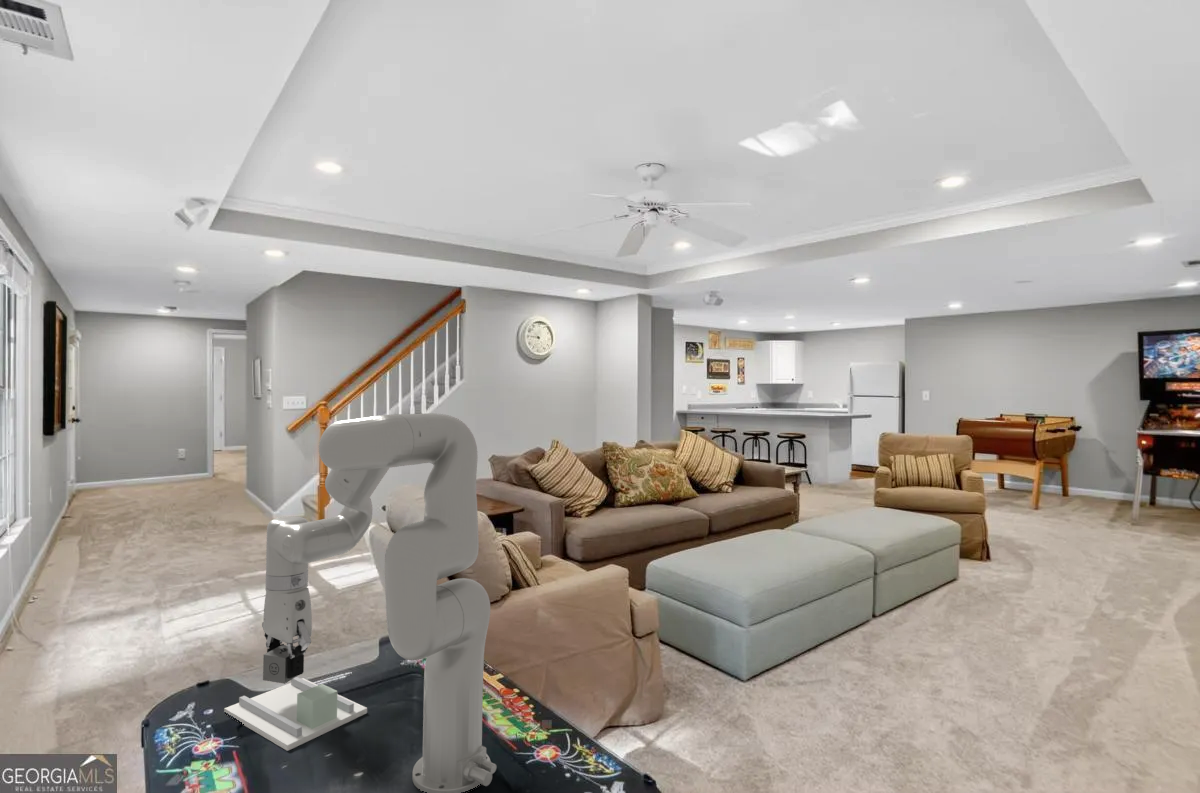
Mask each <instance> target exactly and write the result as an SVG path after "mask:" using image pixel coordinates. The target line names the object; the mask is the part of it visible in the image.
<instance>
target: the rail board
mask: <svg viewBox="0 0 1200 793" xmlns="http://www.w3.org/2000/svg"><path fill="white" fill-rule="evenodd" d="M238 701H239V702H237V703H235V704H232V705H229V706H228V707H224V709H223V710H224V711H223V713H224V712H226V713H228V714H229V715H231V716H233V717H234V718H236V719H237V720H239V721H240V722H242V725H243V724H244V725H243V726H244V727H246V728H247V729H250V730H251V731H253V732H255V733H256V734H258V735H260V736H261V737H263V738H265V739H266V740H268V741H270V742H272V743H273V744H275V745H276V746H278V747H280V748H281V749H283V750H285V751H287V752H288V751H290V750H292V749H295V748H297V747H298V746H301V745H303V744H305V743H308V742H309V741H311V740H314V739H315V738H317V737H320V736H321V735H324V734H326V733H329V732H330V731H332V730H334V729H337V728H339V727H340V726H343V725H345V724H348V723H349V722H351V721H353V720H356V719H358V718H360V717H362V716H364V715H366V714H367V713H368V707H366V706H365V705H362V704H360V703H357V702H355V701H354V700H351V699H348V698H347V697H345V696H342V695H341V694H338V690H336V689H334V688H332V687H330V686H327V685H325V684H323V683H321V684H316V683H314V682H312V681H310V680H308V679H306V678H304V677H302V678H300V677H298V676H297V677H295V678H293V679H292V680H290V682H289V683H285V684H284V685H282V686H279V687H277V688H274V689H271V690H268V691H266V692H263V693H261V694H258V695H255V696H253V697H250V698H249V697H248V696H246V695H242V696H239V697H238Z"/></svg>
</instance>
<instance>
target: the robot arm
mask: <svg viewBox="0 0 1200 793" xmlns="http://www.w3.org/2000/svg"><path fill="white" fill-rule="evenodd" d="M319 439H320V440H319V442H318V454H319V457H320V460H321V462H322V463H323V465H325V466H326V467H327V468H328V469H331V470H330V471H329V473H328V474H327V476H326V478H325V480H324V481H325V482H324V487H325V490H326V492H327V494H328V495H329V496H330V497H331V498H332V499H333V500H334V501H335V502H337V503H338V504H340V505H342V506H343V508H342V509H341V511H340V512H339V514H338V515H336V516H334V517H328V518H323V519H317V520H312V521H309V520H308V519H307V518H305V517H302V516H294V515H293V516H292V515H291V516H282V517H276V518H274V519H271V520H270V521H269V522H268V523H267V527H266V545H265V546H266V550H265V551H266V552H265V553H266V554H265V555H266V556H265V557H266V558H265V560H266V561H265V590H264V591H265V596H264V597H265V598H264V604H263V605H264V607H263V622H262V624H261V628H262V629H263V632H264V637H265V639H266V641H265V648H267V649H266V653H268V652H269V651H271V650H273V649H275V648H277V647H279V646H281V645H285V644H284V643H286V645H287V648H288V653H289V657H288V658H287V670H286V677H287V678H288V679H290V678H293V677H295V676H297V677H298V676H300V675H303V674H304V672H305V671H304V670H305V669H304V668H305V665H304V664H305V654H306V652H307V649H308V647H309V646H310V645H311V643H312V639H311V638H312V637H311V636H312V632H313V622H312V620H313V619H312V618H313V617H312V616H313V614H312V603H311V602H312V601H311V594H310V590H309V587H308V586H309V563H313V562H317V561H320V560H324V559H327V558H331V557H335V556H339V555H344V554H345V553H348V552H350V551H351V550H352V549H354V548H355V547H356V546H357V545H358V543H359V542H360V541H361V539H362V538H363V537H364V535H365V533H366V532H367V531H368V529H369V528H370V526H371V523H372V519H373V503H372V499H371V497H372V495H373V493H374V492H375V490H376V489H377V487H378V486H379V484H380V483H381V481H383V478H384V477H385V476H386V475H387V473H388V471H390V470H389V469H390V468H397V467H405V466H414V465H421V464H432V465H433V467H432V469H431V471H430V473H429V475H428V477H427V480H426V482H425V486H424V492H423V493H424V494H423V502H424V514H423V515H424V516H423V520H421V521H417V522H413V523H409V524H407V525H404V526H402V527H400V529H398V530H397V531H396V532H395V533H393V535H392V536H391V538H390V540H389V541H388V543H387V547H386V550H385V554H384V589H385V611H386V614H385V615H386V627H387V633H388V634H387V635H388V638H389V641H390V644H391V646H392V648H393V649H394V651H395V653H396V654H398V656H400V657H401V658H403V659H405V660H407V661H420V660H423V659H425V664H424V675H423V678H424V679H423V710H422V712H423V715H422V718H423V720H422V725H423V726H422V756H421V757H420V758H419V759H418V760H417V761H416V763H415V764H414V765H413V768H412V782H413V785H414V786H415V788H417V789H418V790H419V789H420V790H419V791H420V792H422V791H424V792H423V793H425V792H427V793H461V792H465V791H468V790H470V789H473V788H475V787H476V788H478V787H479V786H485V787H488V786H489V785H490V784H491V782H492V780H493V774H495V772H496V771H497V764H496V763H494V762H492V761H491V758H490V756H489V755H488V753H487V747H486V746H485V745H483V703H484V702H483V701H484V700H483V695H484V693H483V692H484V691H483V690H484V688H483V687H484V665H485V664H484V662H485V661H484V660H485V648H486V641H487V634H488V629H489V624H490V618H491V601H490V597H489V594H488V592H487V589H485V587H484V586H483V585H482V584H481V583H479V582H478V581H476V580H474V579H472V578H463V577H461V578H455V579H452V580H448V581H445V582H443V583H440V584H438V582H437V581H438V580H441V579H444V578H447V577H450V576H453V575H455V574H457V573H460V572H461V573H462V571H465V570H467V569H468V568H470V567H472V565H474V564H475V562H476V560H477V558H478V556H479V551H480V550H479V546H480V543H479V519H478V518H479V516H478V499H477V473H478V472H477V471H478V458H479V457H478V455H479V454H478V446H477V441H476V438H475V437H474V434H473V432H472V430H471V429H470V428H469V427H468V425H467V424H466V423H465V422H463V421H462V420H461V419H459V418H458V417H457V418H456V417H455V416H451V415H448V414H444V413H432V412H431V413H430V412H429V413H406V414H405V413H398V414H397V413H394V414H382V415H381V414H379V415H373V416H367V417H358V418H351V419H342V420H337V421H335V422H333V423H331V424H329V426H328V427H327V428H325V429H324V431H323V433H322V434H321V436H320V438H319ZM295 637H297V638H296V639H294V638H295ZM296 643H297V645H296V646H295V647H296V648H295V649H294V647H293V646H294V644H296ZM480 784H481V785H480ZM478 785H479V786H478ZM477 786H478V787H477ZM476 788H475V789H476ZM473 790H474V789H473ZM468 792H469V791H468Z"/></svg>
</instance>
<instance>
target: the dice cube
mask: <svg viewBox="0 0 1200 793" xmlns="http://www.w3.org/2000/svg"><path fill="white" fill-rule="evenodd" d="M280 645H281V644H280ZM293 647H294V649H295V648H296V646H294V645H293ZM288 657H289V653H288V648H287V644H284V645H281V646H279V647H277V648H275V649H273V650H271V651H269V652H268V653H267V652H265V653H264V654H263V658H262V659H263V666H262V668H263V670H262V680H263V681H265V682H266V681H267V682H271V683H278V684H284V685H286V684H288V682H291V680H292V679H293V678H295V677H298V676H295V677H293V678H290V679H288V678H287V677H286V670H287V658H288Z"/></svg>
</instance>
